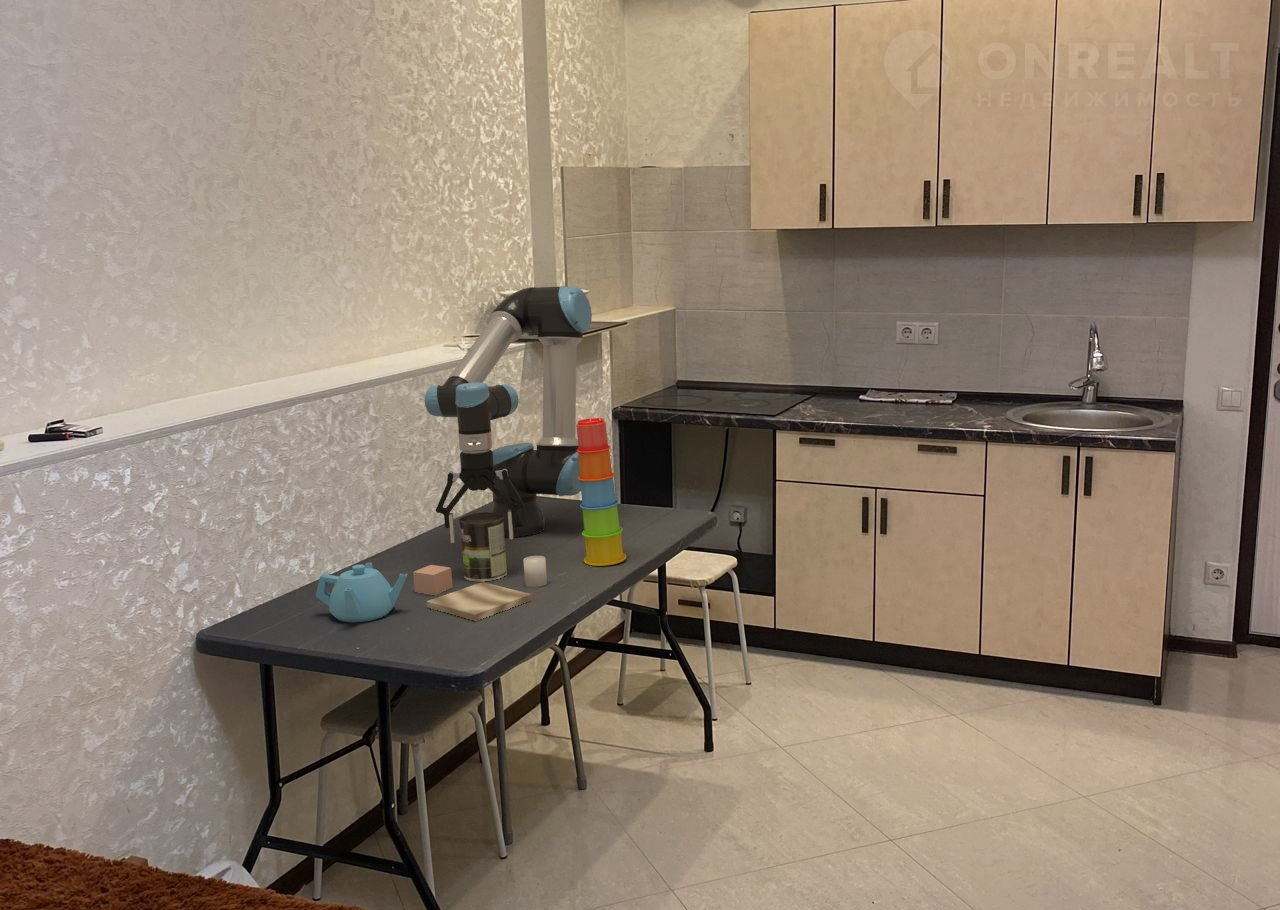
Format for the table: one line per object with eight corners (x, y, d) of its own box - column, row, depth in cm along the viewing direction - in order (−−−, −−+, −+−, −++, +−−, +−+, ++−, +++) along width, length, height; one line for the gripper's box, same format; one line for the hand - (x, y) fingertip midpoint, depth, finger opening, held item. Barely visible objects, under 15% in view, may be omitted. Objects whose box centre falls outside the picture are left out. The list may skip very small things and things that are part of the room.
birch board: (483, 588, 266) (482, 582, 266) (531, 600, 255) (531, 594, 255) (427, 607, 254) (426, 601, 254) (475, 621, 244) (474, 614, 243)
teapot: (376, 597, 264) (371, 551, 262) (413, 611, 253) (408, 563, 251) (314, 615, 253) (309, 567, 251) (350, 630, 243) (345, 580, 241)
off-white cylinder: (536, 579, 271) (534, 554, 269) (551, 583, 267) (549, 557, 266) (520, 585, 267) (518, 559, 266) (535, 588, 264) (533, 563, 263)
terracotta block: (432, 585, 270) (431, 564, 269) (452, 588, 267) (450, 567, 266) (415, 593, 266) (413, 571, 264) (435, 596, 262) (433, 575, 261)
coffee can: (470, 585, 269) (465, 525, 266) (459, 573, 278) (454, 516, 276) (513, 577, 273) (509, 519, 270) (500, 566, 282) (496, 509, 279)
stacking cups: (597, 569, 276) (589, 425, 269) (576, 560, 284) (567, 419, 277) (634, 561, 281) (627, 419, 274) (612, 552, 289) (604, 414, 283)
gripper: (419, 456, 265) (426, 546, 269) (529, 450, 267) (535, 540, 270) (423, 450, 273) (430, 538, 277) (530, 444, 274) (536, 532, 278)
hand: (482, 539), depth 274 cm, fingers open, 13 cm apart
